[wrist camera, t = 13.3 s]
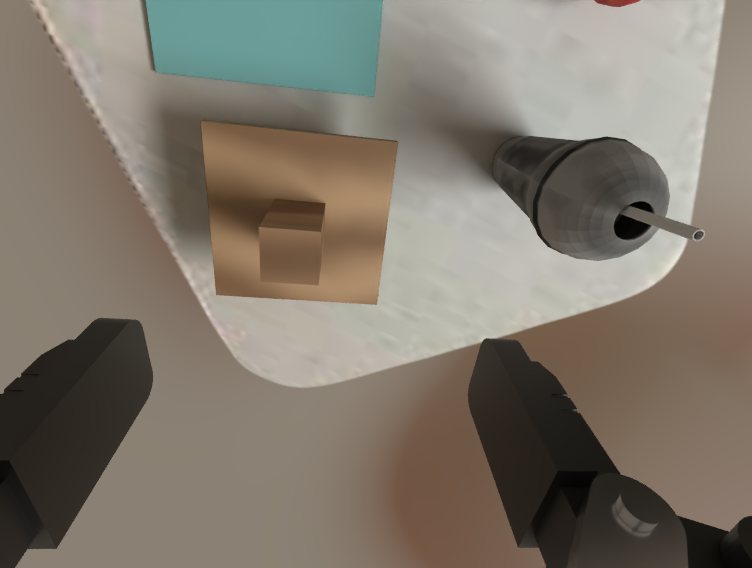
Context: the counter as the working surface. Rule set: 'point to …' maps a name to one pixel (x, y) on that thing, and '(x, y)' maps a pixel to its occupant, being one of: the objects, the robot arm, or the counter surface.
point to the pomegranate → (616, 2)
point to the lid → (297, 212)
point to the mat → (270, 41)
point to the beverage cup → (588, 194)
